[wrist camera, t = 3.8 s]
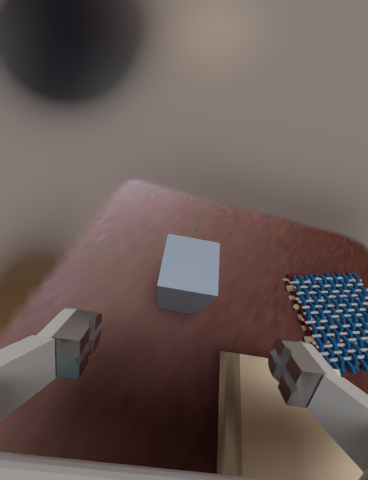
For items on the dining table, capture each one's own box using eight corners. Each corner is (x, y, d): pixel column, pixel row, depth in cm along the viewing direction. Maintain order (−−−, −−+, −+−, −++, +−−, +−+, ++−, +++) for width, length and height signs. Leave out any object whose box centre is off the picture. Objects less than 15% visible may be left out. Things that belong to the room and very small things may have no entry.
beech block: (315, 484, 14) (385, 548, 10) (216, 471, 14) (243, 531, 9) (296, 362, 18) (338, 369, 14) (219, 350, 18) (239, 353, 13)
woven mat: (344, 273, 25) (359, 268, 23) (394, 364, 20) (417, 367, 18) (277, 275, 23) (287, 270, 22) (311, 374, 18) (327, 378, 16)
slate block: (193, 314, 19) (217, 296, 11) (157, 308, 19) (156, 285, 11) (197, 279, 21) (219, 243, 13) (164, 273, 21) (168, 233, 13)
